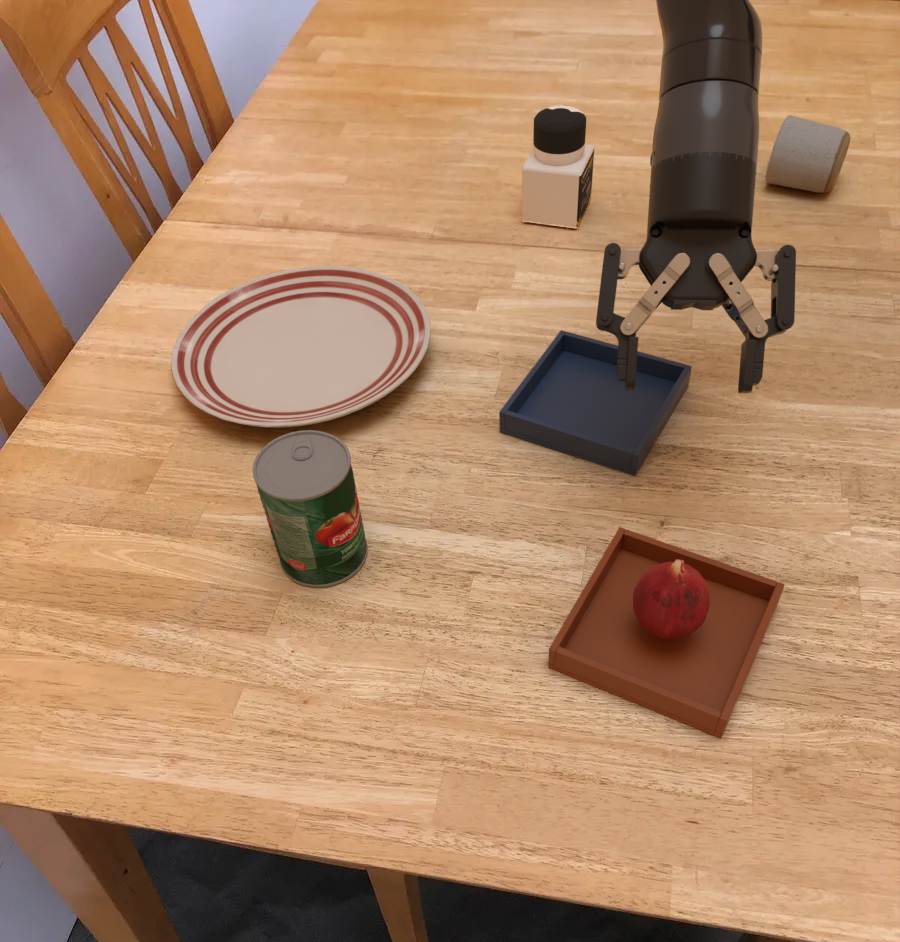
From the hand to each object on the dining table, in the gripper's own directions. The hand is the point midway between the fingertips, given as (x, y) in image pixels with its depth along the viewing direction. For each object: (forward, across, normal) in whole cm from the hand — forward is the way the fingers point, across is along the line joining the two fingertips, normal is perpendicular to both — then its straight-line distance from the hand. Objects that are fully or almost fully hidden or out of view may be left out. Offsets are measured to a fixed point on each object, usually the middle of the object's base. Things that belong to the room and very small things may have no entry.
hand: (687, 390), depth 70 cm
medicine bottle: (-26, -12, +48) cm, 56 cm away
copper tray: (+19, 0, +2) cm, 19 cm away
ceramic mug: (-32, +18, +54) cm, 65 cm away
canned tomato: (+14, -30, +7) cm, 34 cm away
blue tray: (0, -6, +22) cm, 23 cm away
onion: (+19, 0, +2) cm, 19 cm away
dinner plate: (-4, -37, +26) cm, 46 cm away
